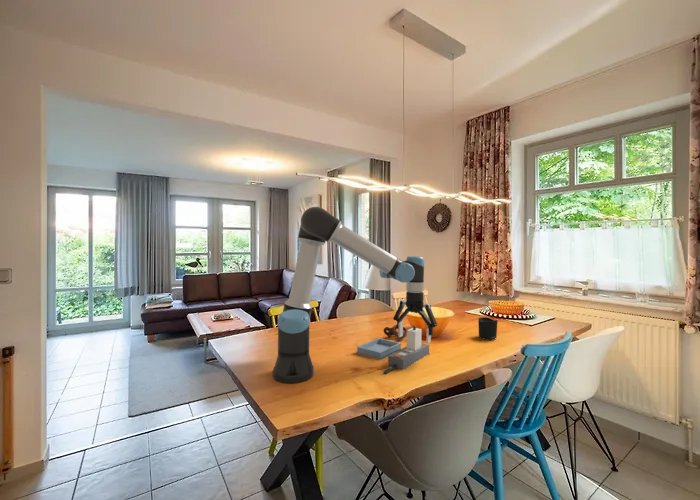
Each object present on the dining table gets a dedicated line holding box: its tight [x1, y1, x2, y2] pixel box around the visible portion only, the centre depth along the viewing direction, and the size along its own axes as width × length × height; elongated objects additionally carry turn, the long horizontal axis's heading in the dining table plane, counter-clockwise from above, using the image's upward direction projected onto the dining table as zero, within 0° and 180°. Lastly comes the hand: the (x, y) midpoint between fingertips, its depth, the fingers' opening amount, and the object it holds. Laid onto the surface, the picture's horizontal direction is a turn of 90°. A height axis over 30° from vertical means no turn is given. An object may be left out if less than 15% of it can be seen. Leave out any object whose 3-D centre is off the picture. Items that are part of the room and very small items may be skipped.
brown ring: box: [382, 324, 407, 342], centre depth 166 cm, size 12×10×8 cm
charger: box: [406, 325, 423, 350], centre depth 140 cm, size 6×4×12 cm, turn 142°
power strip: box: [383, 342, 430, 375], centre depth 133 cm, size 32×7×5 cm, turn 142°
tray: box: [356, 337, 402, 361], centre depth 146 cm, size 18×13×3 cm
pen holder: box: [477, 316, 498, 340], centre depth 170 cm, size 9×9×10 cm
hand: (414, 339), depth 140 cm, fingers open, 13 cm apart
